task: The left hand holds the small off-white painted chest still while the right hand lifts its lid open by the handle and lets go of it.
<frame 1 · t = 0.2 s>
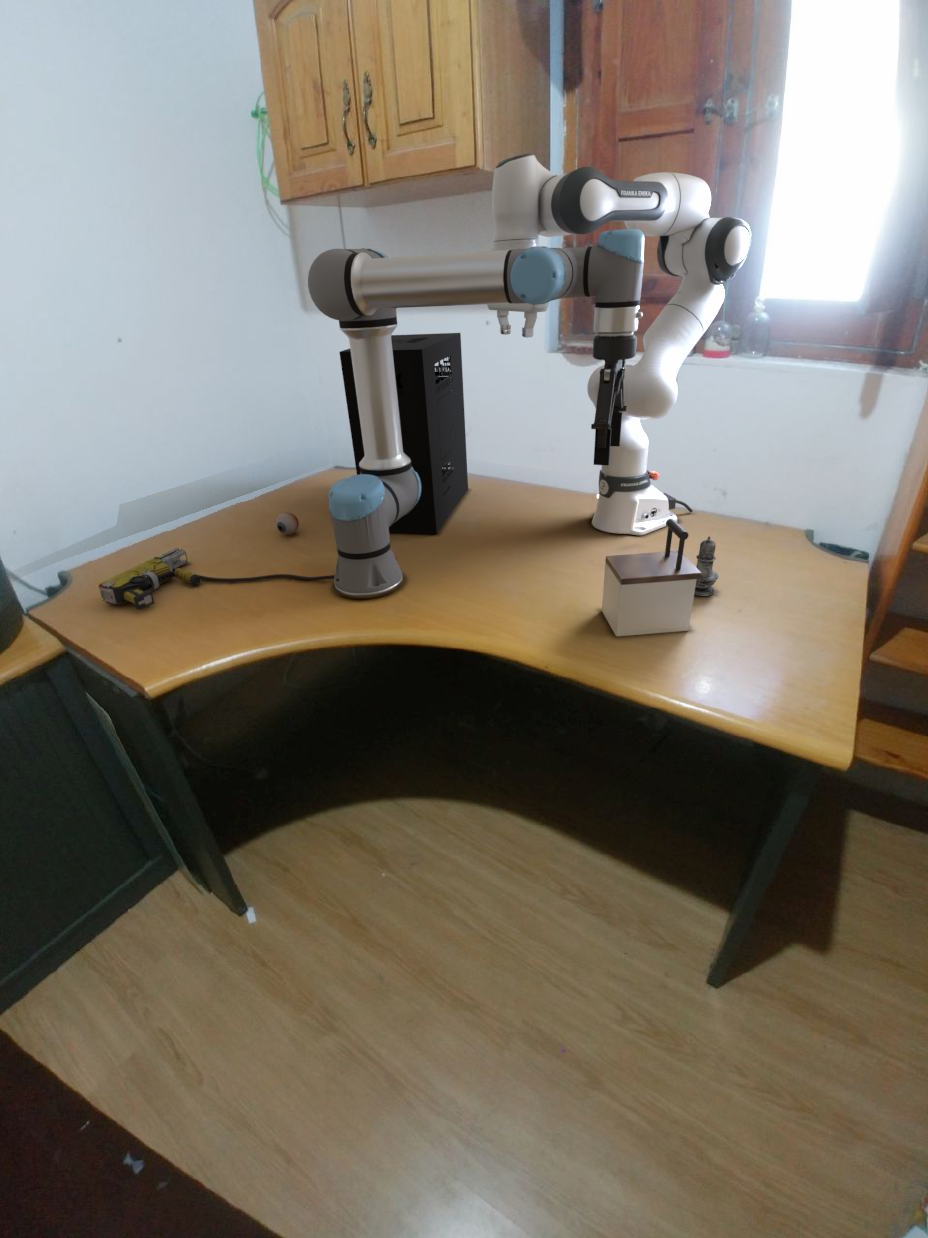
left hand: (607, 454, 116), 28 cm above the table, tool pointing down, fingers open, 13 cm apart
right hand: (516, 335, 125), 48 cm above the table, tool pointing down, fingers open, 8 cm apart
eyeball: (289, 534, 165), on the table
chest: (643, 620, 116), on the table
cardboard box: (420, 509, 177), on the table
lid: (653, 548, 109), point 15 cm above the table, hinge at 0.0°
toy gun: (166, 587, 140), on the table
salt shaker: (700, 590, 125), on the table
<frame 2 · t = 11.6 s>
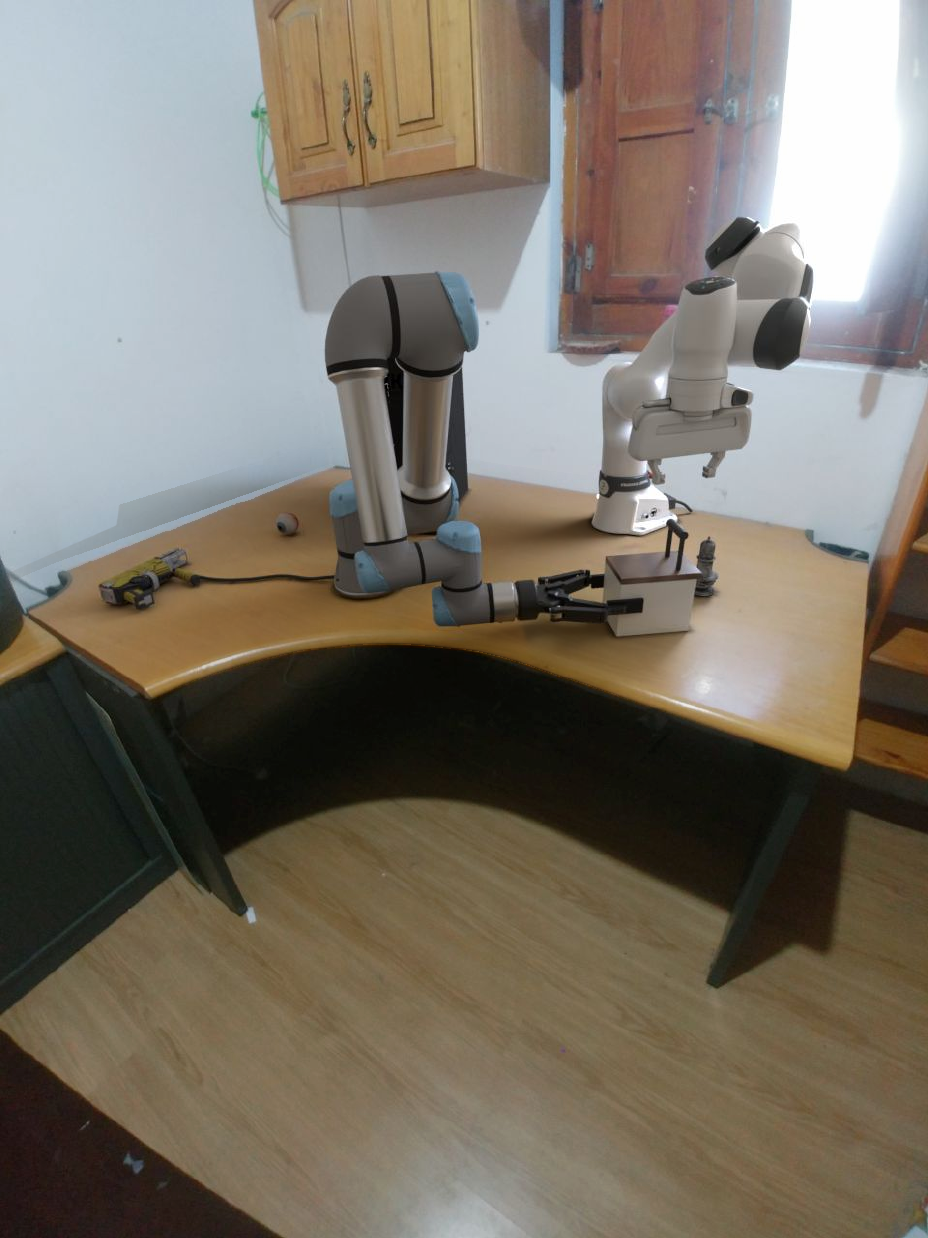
left hand: (633, 591, 113), 6 cm above the table, tool horizontal, fingers closed on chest, 10 cm apart
right hand: (683, 480, 103), 27 cm above the table, tool pointing down, fingers open, 8 cm apart
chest: (643, 620, 116), on the table, touching left hand
everything else where it was.
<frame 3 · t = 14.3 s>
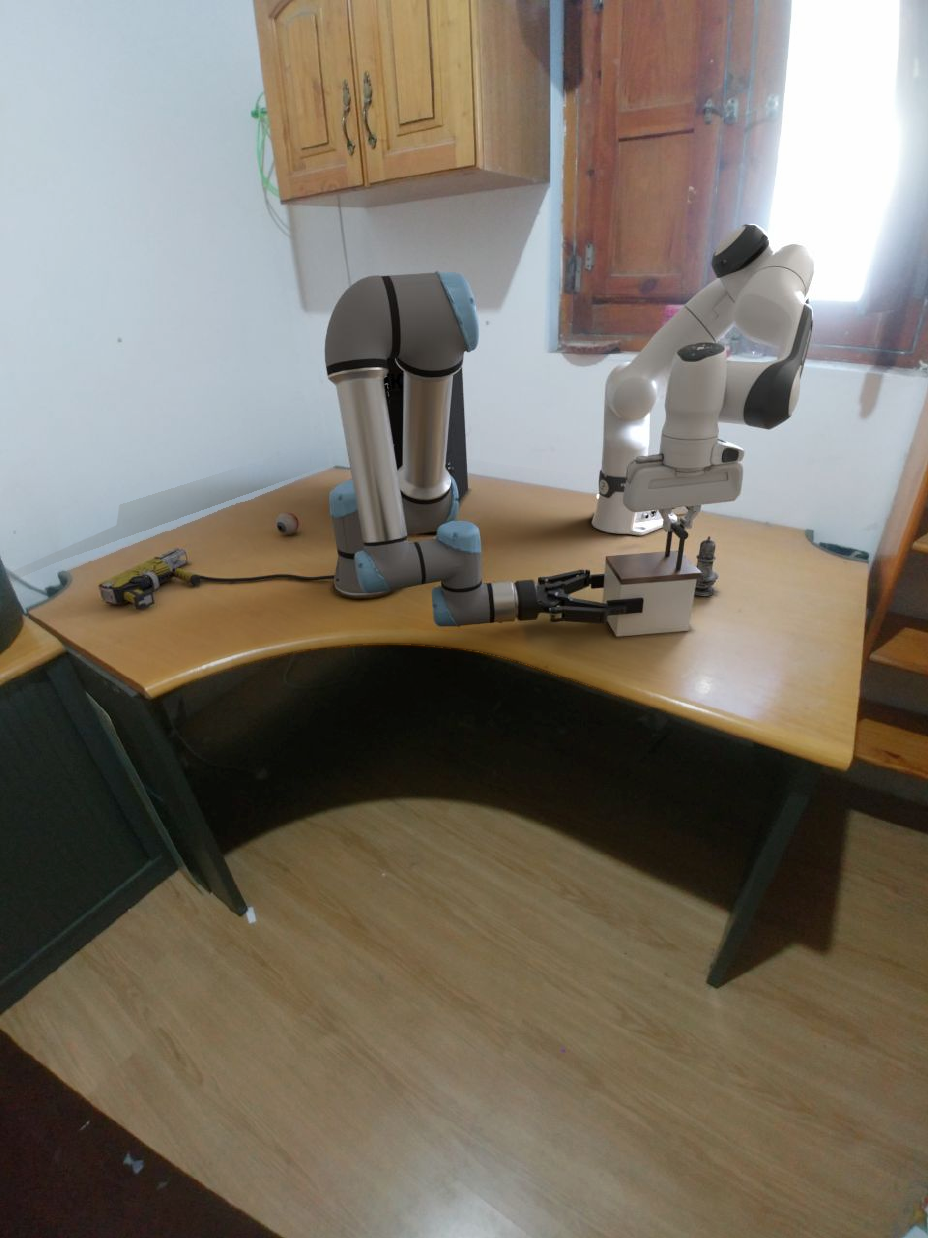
left hand: (633, 591, 113), 6 cm above the table, tool horizontal, fingers closed on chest, 10 cm apart
right hand: (676, 529, 107), 18 cm above the table, tool pointing down, fingers closed on lid, 2 cm apart
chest: (643, 620, 116), on the table, touching left hand
lid: (653, 548, 109), point 15 cm above the table, hinge at 0.2°, touching right hand
everything else where it was.
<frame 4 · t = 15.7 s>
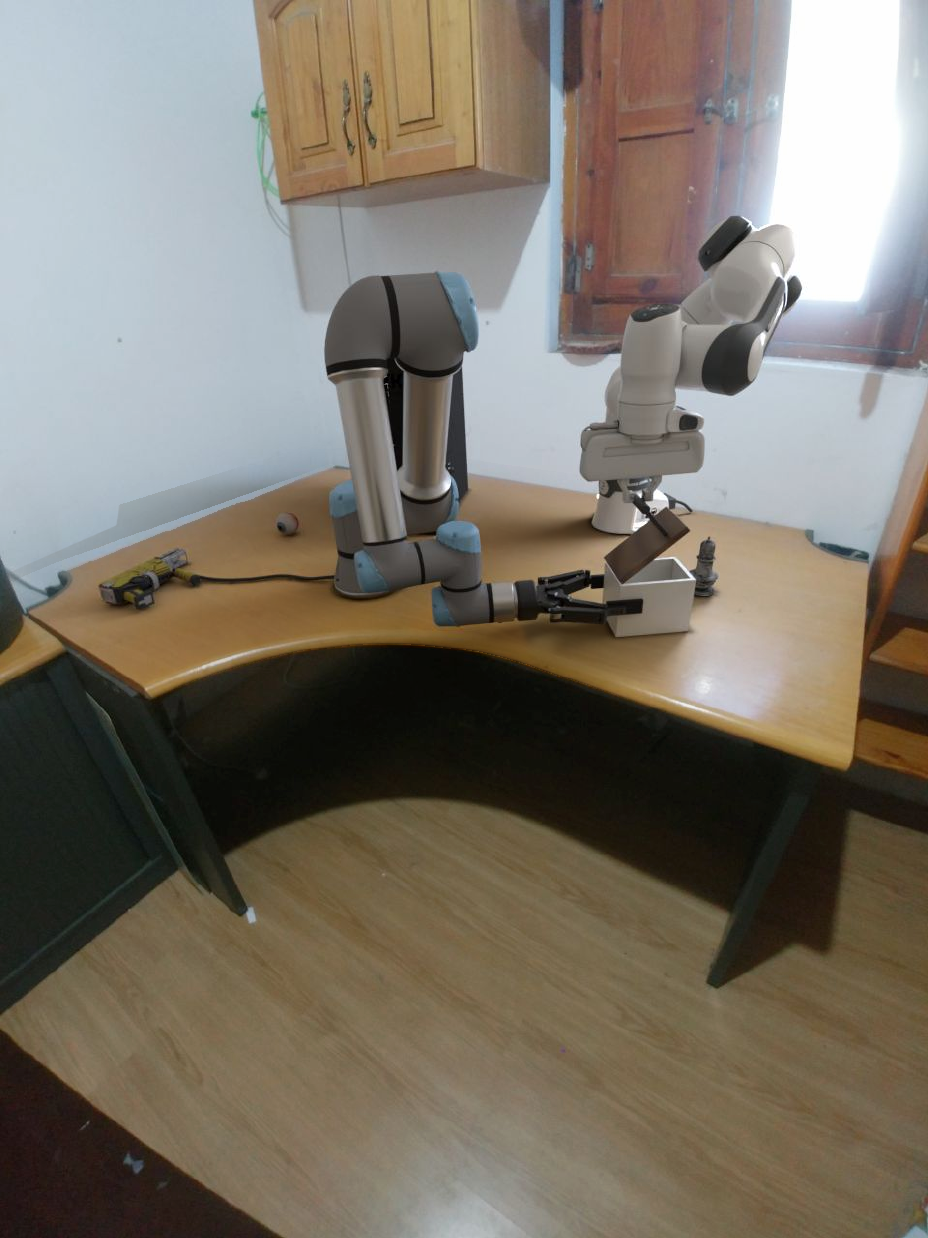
left hand: (632, 592, 113), 6 cm above the table, tool horizontal, fingers closed on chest, 10 cm apart
right hand: (637, 501, 104), 24 cm above the table, tool pointing down, fingers closed
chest: (643, 620, 116), on the table, touching left hand
lid: (632, 531, 107), point 19 cm above the table, hinge at 40.2°, touching right hand
everything else where it was.
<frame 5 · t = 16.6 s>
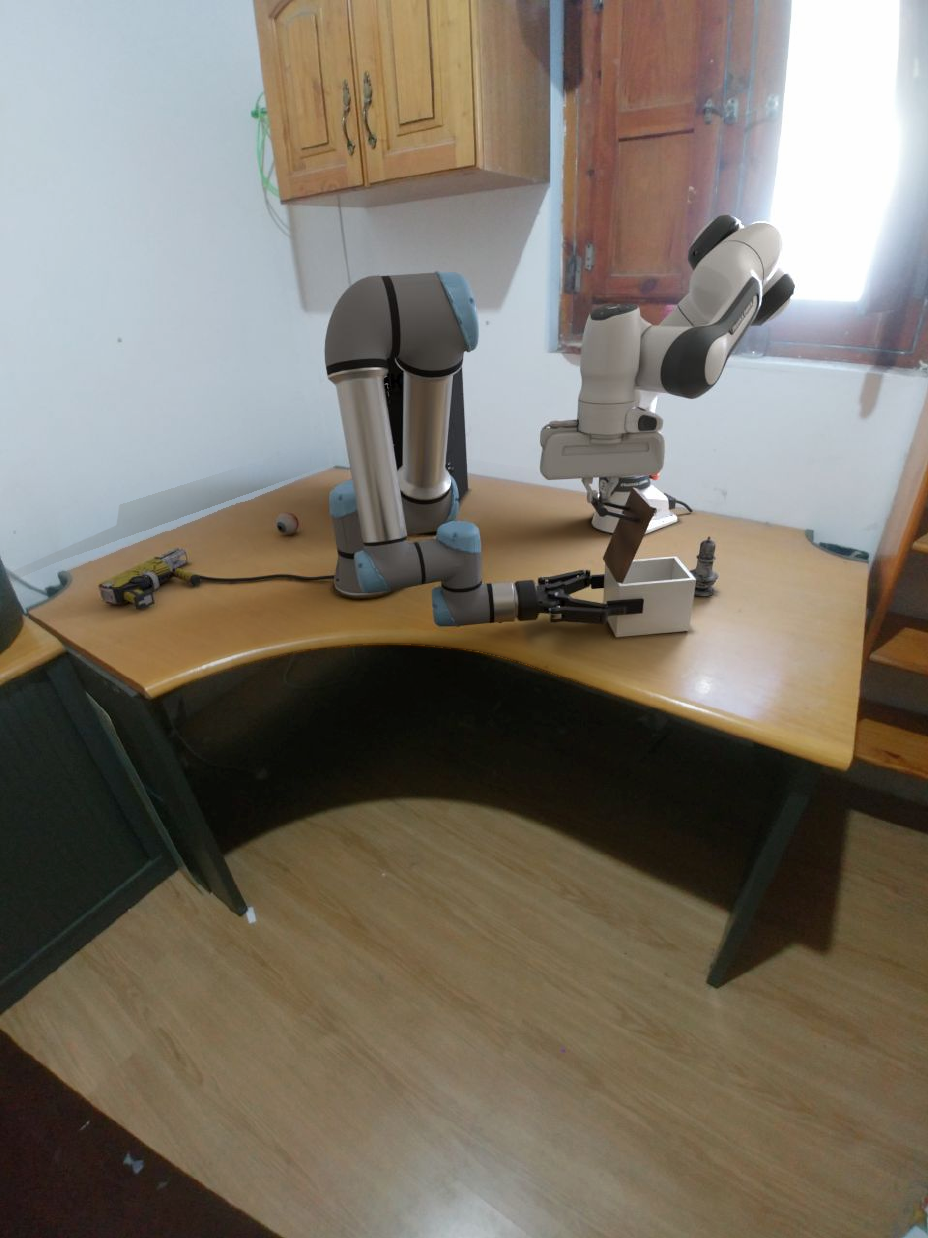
left hand: (633, 592, 113), 7 cm above the table, tool horizontal, fingers closed on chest, 10 cm apart
right hand: (598, 501, 103), 25 cm above the table, tool pointing down, fingers closed, pressing on lid
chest: (644, 620, 116), on the table, touching left hand
lid: (608, 530, 106), point 19 cm above the table, hinge at 70.6°, touching right hand
everything else where it was.
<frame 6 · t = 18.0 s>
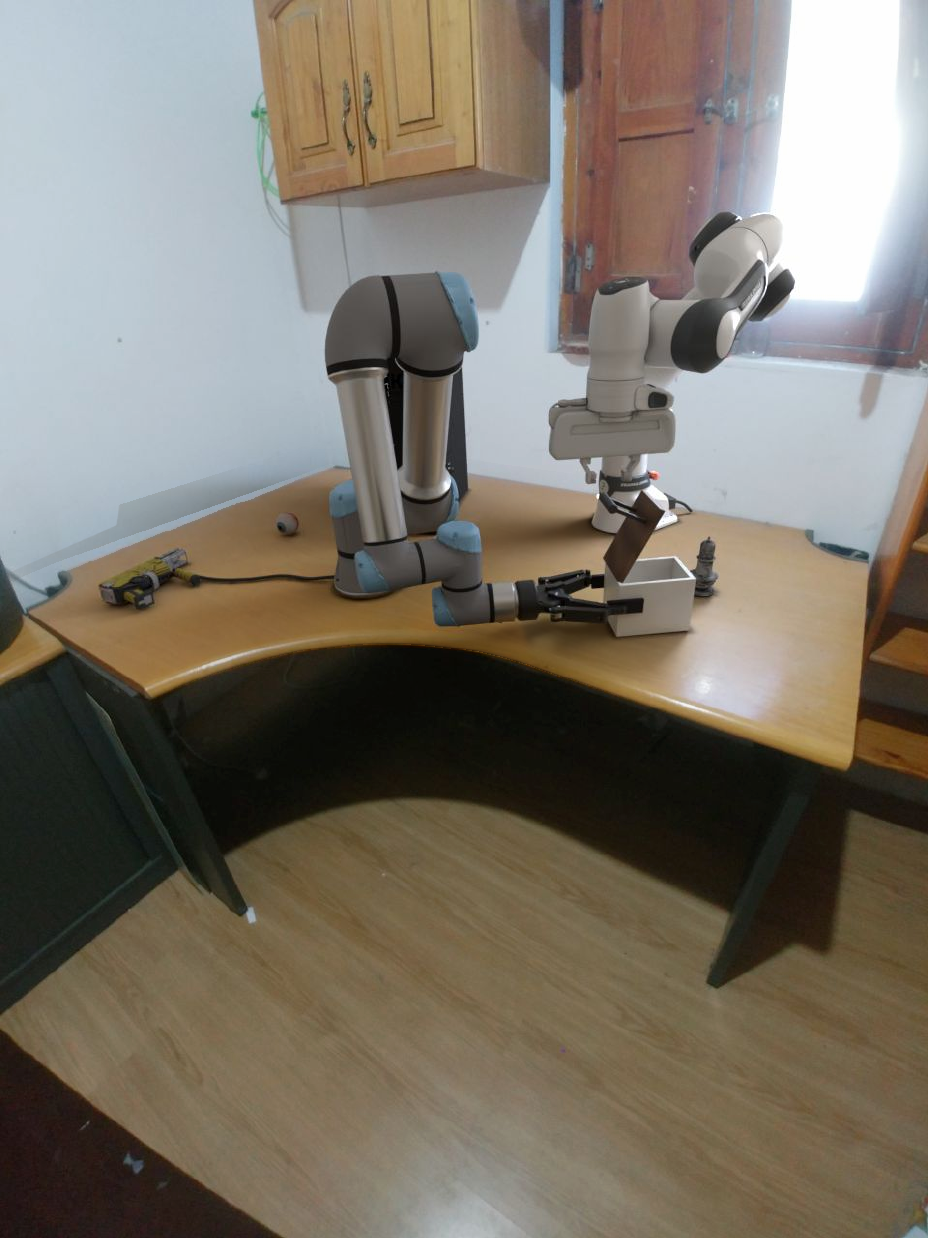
left hand: (633, 591, 113), 7 cm above the table, tool horizontal, fingers closed on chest, 10 cm apart
right hand: (608, 481, 102), 28 cm above the table, tool pointing down, fingers open, 5 cm apart
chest: (644, 620, 116), on the table, touching left hand
lid: (614, 529, 106), point 19 cm above the table, hinge at 63.5°
everything else where it was.
when the left hand's fingers open (7 cm above the table, at t = 20.9 s): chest stays where it is, on the table.
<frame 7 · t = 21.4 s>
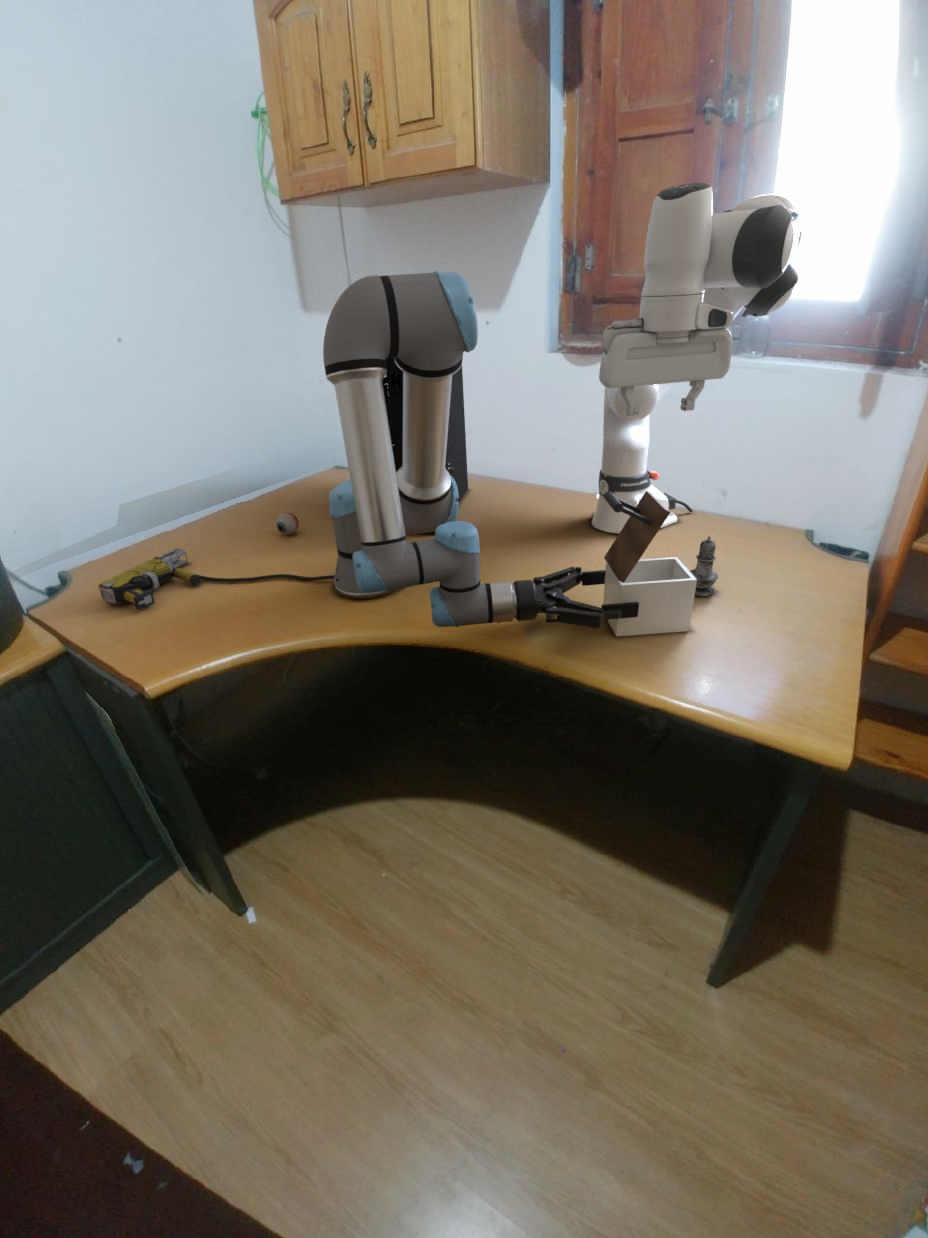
left hand: (626, 591, 113), 6 cm above the table, tool horizontal, fingers open, 13 cm apart
right hand: (659, 412, 97), 39 cm above the table, tool pointing down, fingers open, 8 cm apart
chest: (644, 620, 116), on the table
lid: (617, 528, 106), point 19 cm above the table, hinge at 61.6°
everything else where it was.
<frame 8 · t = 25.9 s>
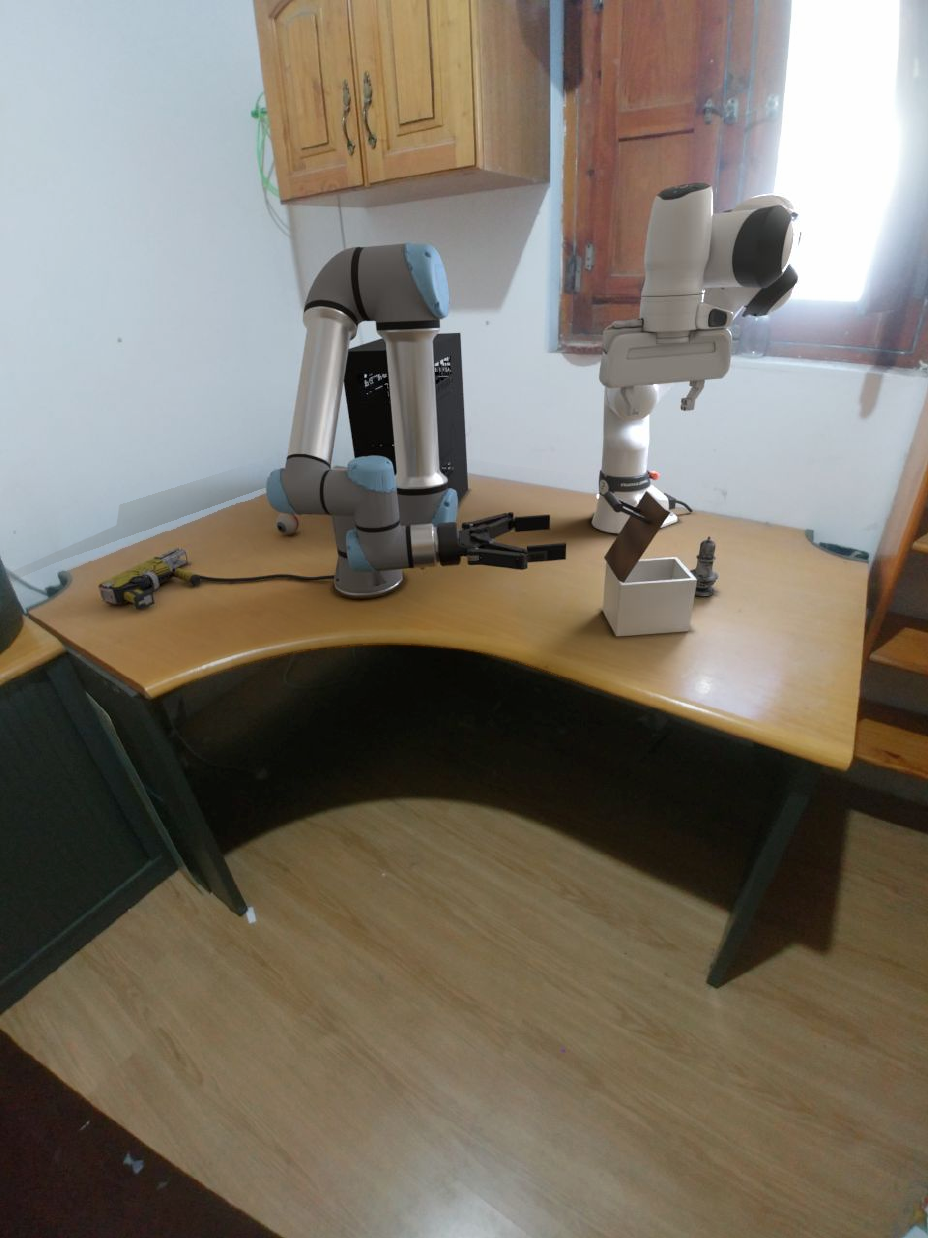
left hand: (557, 535, 106), 19 cm above the table, tool horizontal, fingers open, 13 cm apart
right hand: (659, 412, 97), 39 cm above the table, tool pointing down, fingers open, 8 cm apart
nothing on the table moved.
at the end: lid at +62° (first picture: +0°); the left hand is holding nothing; the right hand is holding nothing; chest tilted 0°; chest never tilted more than 2° during the clip; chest moved 0.1 cm from its start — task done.
